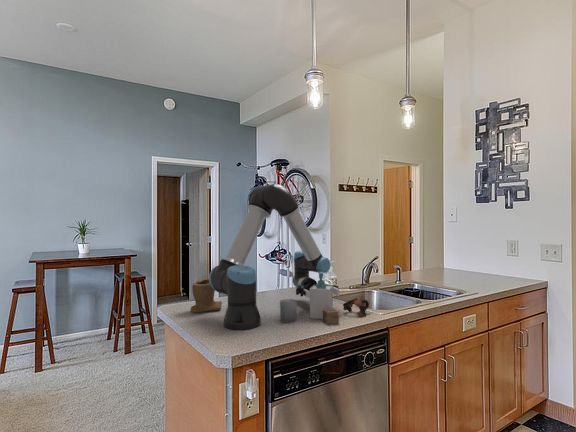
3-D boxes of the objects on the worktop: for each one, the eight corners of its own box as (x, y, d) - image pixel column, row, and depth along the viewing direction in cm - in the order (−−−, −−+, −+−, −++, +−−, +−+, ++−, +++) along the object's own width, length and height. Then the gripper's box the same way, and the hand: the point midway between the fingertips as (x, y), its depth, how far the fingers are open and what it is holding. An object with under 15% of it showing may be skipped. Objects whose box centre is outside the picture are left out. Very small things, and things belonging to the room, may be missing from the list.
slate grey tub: (287, 323, 147) (287, 303, 147) (276, 319, 153) (276, 301, 153) (300, 319, 152) (299, 301, 152) (289, 316, 157) (289, 298, 157)
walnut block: (322, 321, 149) (322, 309, 149) (334, 320, 150) (333, 308, 150) (327, 324, 144) (327, 312, 144) (338, 323, 146) (338, 311, 146)
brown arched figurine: (354, 320, 152) (345, 301, 155) (346, 324, 160) (337, 307, 163) (376, 309, 157) (367, 292, 160) (367, 314, 165) (358, 297, 168)
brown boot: (191, 315, 161) (191, 282, 161) (189, 309, 172) (189, 278, 172) (225, 312, 166) (225, 280, 166) (221, 306, 177) (220, 276, 178)
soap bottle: (333, 314, 160) (332, 271, 160) (329, 319, 151) (329, 274, 151) (314, 313, 162) (313, 271, 162) (309, 318, 154) (309, 273, 154)
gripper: (331, 291, 177) (350, 300, 157) (283, 294, 171) (296, 304, 150) (331, 275, 178) (350, 283, 157) (283, 278, 171) (296, 286, 150)
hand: (324, 293), depth 154 cm, fingers open, 13 cm apart
